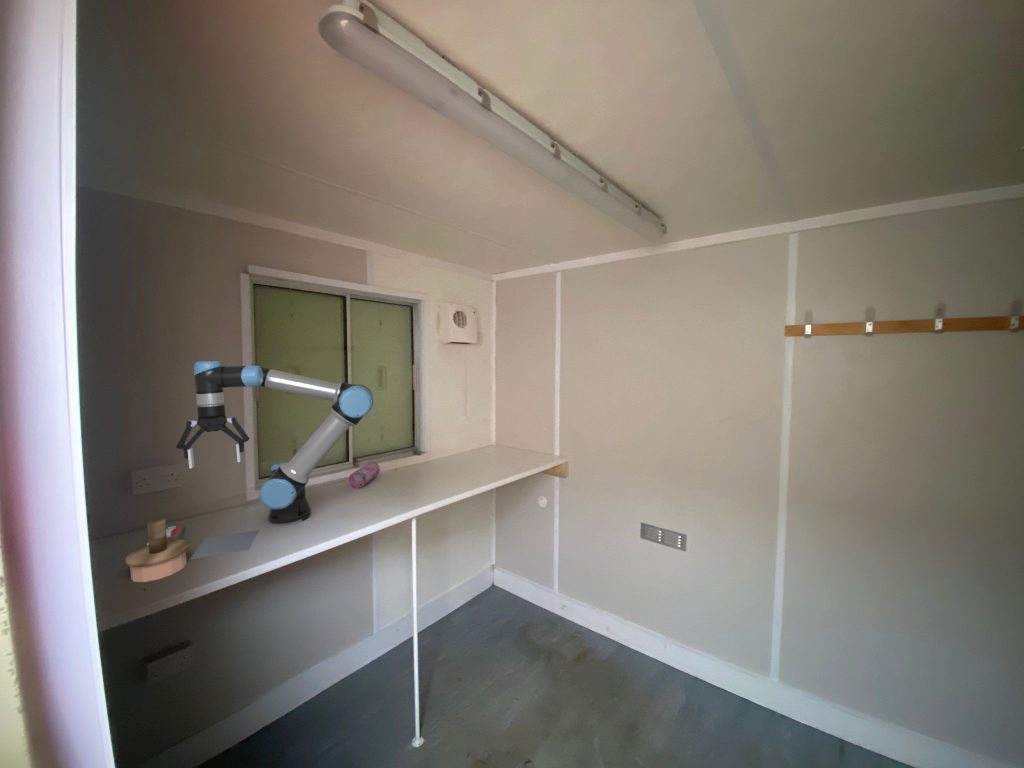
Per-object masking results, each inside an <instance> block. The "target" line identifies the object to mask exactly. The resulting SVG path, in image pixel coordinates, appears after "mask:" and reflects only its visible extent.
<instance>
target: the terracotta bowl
mask: <svg viewBox="0 0 1024 768" xmlns="http://www.w3.org/2000/svg"><path fill="white" fill-rule="evenodd" d="M186 564H187V551H186V552H184V553H183V554H181V555H179V556H177V557H175V558H173V559H170V560H168V561H165V562H161V563H158V564H154V565H149V566H142V567H131V566H129V568H130V579H131V580H132V582H135V583H145V582H146V583H147V582H151V581H158V580H161V579H164V578H166V577H168V576H172V575H174V574H176V573H177V572H179V571H181V570H182V569H184V567H185V566H186Z"/></svg>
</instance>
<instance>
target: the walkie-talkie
mask: <svg viewBox="0 0 1024 768" xmlns="http://www.w3.org/2000/svg"><path fill="white" fill-rule="evenodd" d="M185 530H186V525H184V524H177V525H172V526H168V527H167V526H166V535H167V540H175V539H182V538H183V535H184V532H185ZM147 545H149V542H147V543H146V546H147Z"/></svg>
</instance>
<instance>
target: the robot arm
mask: <svg viewBox="0 0 1024 768" xmlns="http://www.w3.org/2000/svg"><path fill="white" fill-rule="evenodd" d="M193 378H194V386H195V398H196V405H197V406H198V407H197V420H193V419H189V420H187V421H186V423H185V424H186V427H185V429H184V431H183V433H182V435H181V437H180V439H179V441H178V443H177V444H176V449H180V450H183V454H184V459H185V460H188V466H189V467H188V468H189V469H193V468H195V459H194V457H195V456H194V448H193V447H192V445H193V444H194V443H195V442H196V441H197V440H198V439H199V438H200V437H201V436H202V434H203V433H205V432H206V433H210V432H219V431H222V432H224V433H225V434H226V435H227V436H228V437H230V438H231V439H233V440H234V441H235V442H236V444H235V445H236V446H235V447H236V458H237V460H236V461H237V463H241V462H242V453H244V451H245V443H246V442H249V440H250V436H249V435H248V434H247V433H246V431H245V430H244V429H243V427H242V426H241V425H240V423H239V422H238V418H237V416H232V417H228V418H227V417H226V407H225V405H224V403H225V396H224V395H225V394H224V388H247V387H249V388H252V387H261V388H267V389H272V390H278V391H280V392H281V391H282V392H287V393H291V394H296V395H301V396H306V397H309V398H310V397H311V398H316V399H319V400H320V399H321V400H326V401H329V402H333V404H332V405H331V407H330V410H331V411H330V412H331V413H330V414H329V415H328V416H327V417H326V418H325V420H323V422H322V423H321V424H320V426H319V427H318V428H317V429H316V430H315V431H314V432H313V434H312V435H311V436H310V437H309V438H308V440H306V442H305V443H304V444H303V445H302V446H301V448H300V449H299V450H298V451H297V452H296V453H295V455H294V456H293V457H292V458H291V459H290V460H289V461H287V462H281V463H280V462H279V463H275V464H273V465H271V468H270V473H271V475H270V477H268V479H267V480H266V481H265V482H264V483H263V484H262V485H261V488H260V490H259V493H258V495H259V500H260V502H261V503H262V505H263V506H265V507H266V508H268V509H269V513H268V517H267V521H268V522H269V523H271V524H277V525H278V524H279V525H282V524H289V523H295V522H298V521H301V522H303V521H305V520H307V519H309V518H310V516H311V514H312V509H311V506H310V504H309V502H308V499H307V498H306V486H307V484H308V483H309V482H310V481H309V480H310V479H309V476H310V474H311V473H312V472H313V470H315V468H316V467H317V466H318V465H319V464H320V462H321V461H322V460H323V459H324V458H325V456H326V455H327V454H328V453H329V452H330V451H331V450H332V448H333V447H335V445H336V444H337V443H338V441H339V440H340V439H341V438H342V436H343V435H344V434H345V433H346V432H347V431H348V429H349V428H350V427H354V426H357V425H358V424H359V423H360V421H361V420H362V419H363V418H364V417H365V416H367V415H368V414H369V413H370V411H371V410H372V408H373V405H374V397H373V393H372V390H371V389H369V387H367V386H366V385H364V384H363V385H362V384H355V383H348V382H342V381H341V382H339V383H336V382H331V381H328V380H327V381H326V380H322V379H318V378H312V377H308V376H304V375H300V374H296V373H295V374H294V373H291V372H286V371H281V370H277V369H272V368H268V367H263V366H262V365H257V364H250V365H249V364H248V365H233V366H231V365H230V366H227V365H226V366H224V365H223V366H222V363H221V361H219V360H216V361H215V360H213V361H212V360H211V361H207V360H206V361H196V362H195V363H194V364H193ZM227 423H230V424H232V426H233V427H234V428H235V430H236V431H237V433H238V434H239V435H240V436H239V435H238V434H237V433H235V432H234V431H233V430H231V429H230V428H229V427H228V426H227V425H226V424H227ZM196 425H197V426H199V429H198V430H197V432H196V433H195V434H194V435H193V436H192V437H191V438H190V439H189V441H188V442H187V443H186V444H185V442H186V441H187V438H189V436H190V433H191V432H192V430H193V428H194V427H195V426H196Z"/></svg>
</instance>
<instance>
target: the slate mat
mask: <svg viewBox="0 0 1024 768" xmlns="http://www.w3.org/2000/svg"><path fill="white" fill-rule="evenodd" d="M258 533H259V529H256V530H247V531H242V532H236V533H227V534H224V535H223V534H222V535H217V536H215V535H214V536H210V537H206V538H205V539H204V540H203V541H202V543H201V544H200V545H199V547H198V548H197V549H196V550H195V552H194V553H193V554H192V555H191V557H190V558H189V559H188V560H189V561H191V560H194V559H201V558H208V557H212V556H219V555H224V554H231V553H236V552H242V551H248V550H250V548H251V547H252V544H253V542H254V540H255V538H256V537H257V534H258Z"/></svg>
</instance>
